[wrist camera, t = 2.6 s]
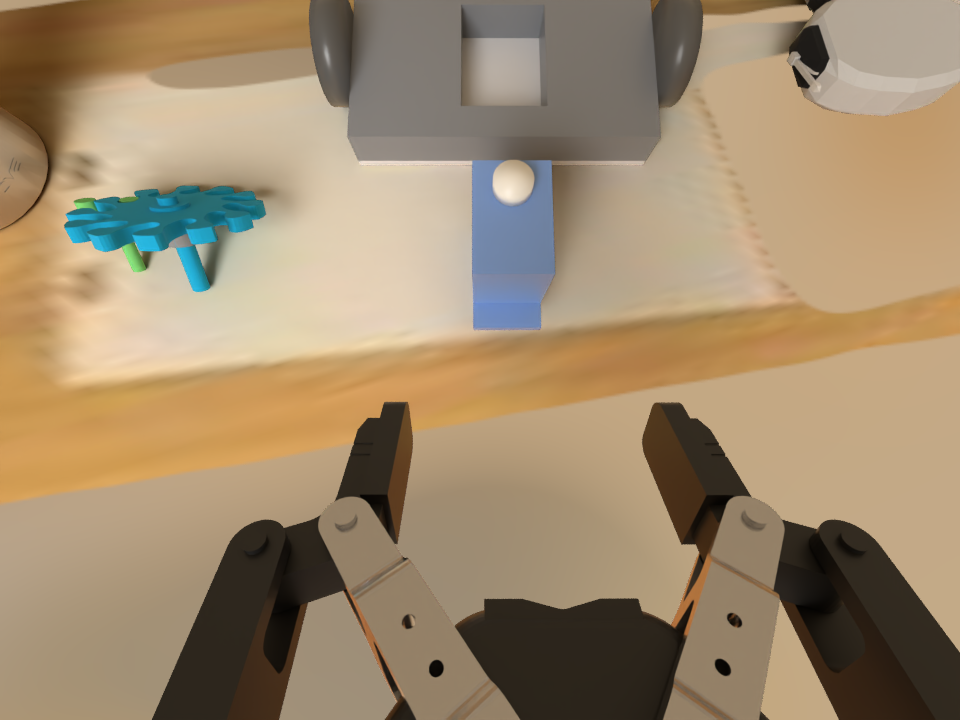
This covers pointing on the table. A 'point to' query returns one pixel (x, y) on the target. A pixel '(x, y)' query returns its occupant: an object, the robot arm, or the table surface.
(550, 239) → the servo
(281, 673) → the robot arm
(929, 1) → the robot toy
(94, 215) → the gear
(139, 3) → the table surface
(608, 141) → the chassis
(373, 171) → the table surface
